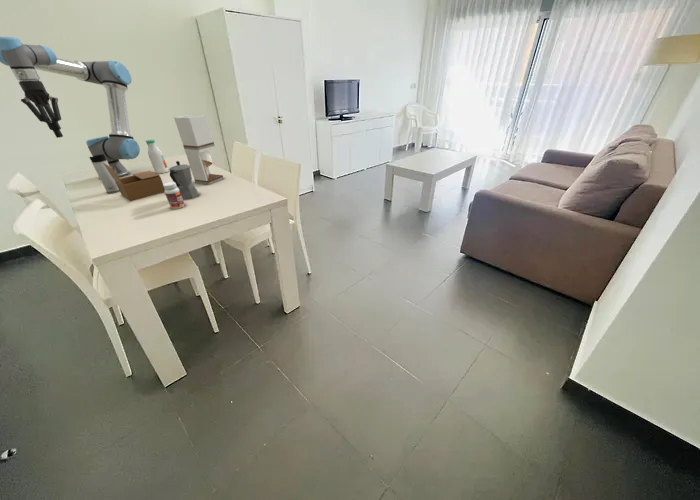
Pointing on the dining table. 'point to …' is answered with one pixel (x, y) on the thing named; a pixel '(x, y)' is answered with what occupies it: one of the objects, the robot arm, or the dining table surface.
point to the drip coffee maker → (197, 146)
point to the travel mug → (104, 173)
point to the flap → (112, 173)
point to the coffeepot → (183, 180)
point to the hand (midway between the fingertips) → (59, 136)
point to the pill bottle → (173, 195)
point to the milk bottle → (156, 157)
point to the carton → (140, 185)
